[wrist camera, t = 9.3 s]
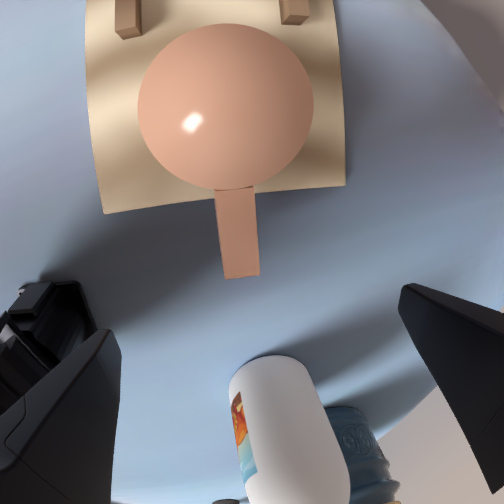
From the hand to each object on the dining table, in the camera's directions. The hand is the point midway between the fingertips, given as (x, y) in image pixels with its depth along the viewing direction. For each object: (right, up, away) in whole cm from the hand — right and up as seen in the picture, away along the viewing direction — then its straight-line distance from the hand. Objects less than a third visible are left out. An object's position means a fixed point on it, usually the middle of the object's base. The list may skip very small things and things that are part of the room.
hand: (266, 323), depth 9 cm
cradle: (-3, +14, +7) cm, 16 cm away
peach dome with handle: (-2, +8, +9) cm, 13 cm away
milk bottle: (+1, -10, +19) cm, 21 cm away
